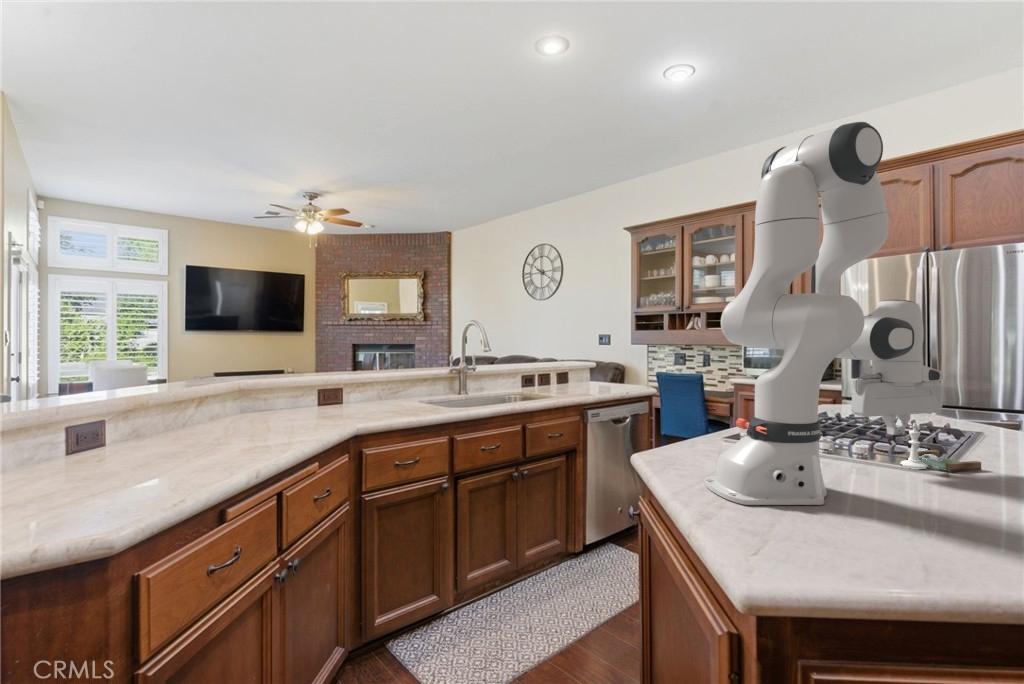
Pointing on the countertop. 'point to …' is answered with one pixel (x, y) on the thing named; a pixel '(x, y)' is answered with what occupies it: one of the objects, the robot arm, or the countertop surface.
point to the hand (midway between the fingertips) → (895, 434)
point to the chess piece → (914, 450)
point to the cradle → (949, 463)
